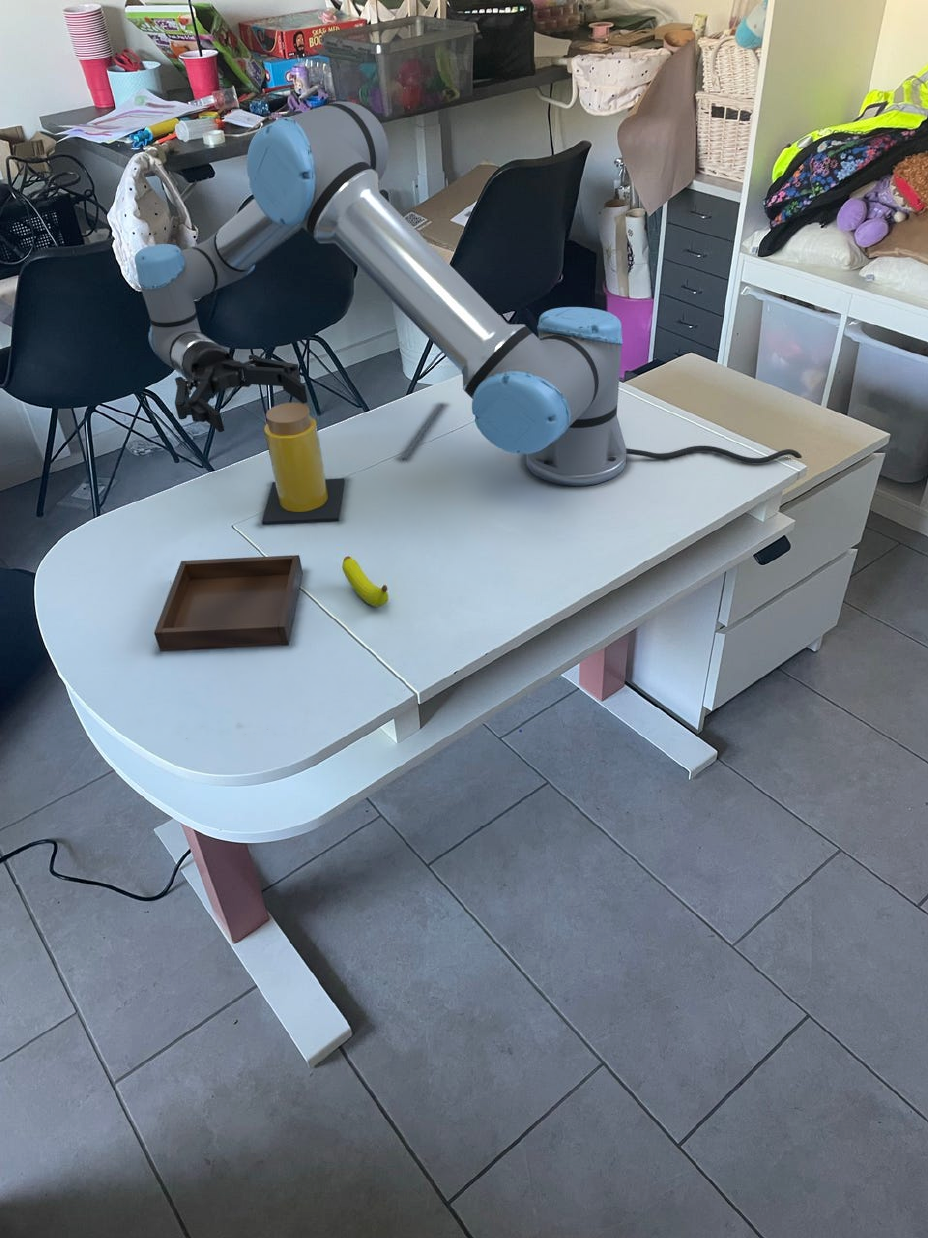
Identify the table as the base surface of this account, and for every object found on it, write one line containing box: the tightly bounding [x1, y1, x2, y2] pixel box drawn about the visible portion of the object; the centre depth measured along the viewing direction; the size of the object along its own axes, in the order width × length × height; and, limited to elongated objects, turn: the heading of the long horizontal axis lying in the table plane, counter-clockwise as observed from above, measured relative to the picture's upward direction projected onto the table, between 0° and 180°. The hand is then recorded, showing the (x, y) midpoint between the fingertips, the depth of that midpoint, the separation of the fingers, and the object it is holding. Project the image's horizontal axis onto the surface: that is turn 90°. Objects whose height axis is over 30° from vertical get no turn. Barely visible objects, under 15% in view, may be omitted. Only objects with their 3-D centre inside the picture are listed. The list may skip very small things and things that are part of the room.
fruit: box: [341, 556, 389, 608], centre depth 114 cm, size 10×2×5 cm, turn 36°
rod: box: [401, 403, 445, 461], centre depth 150 cm, size 1×19×1 cm, turn 163°
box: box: [153, 554, 304, 652], centre depth 114 cm, size 16×15×3 cm
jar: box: [263, 402, 328, 512], centre depth 130 cm, size 7×7×14 cm
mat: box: [261, 477, 346, 526], centre depth 134 cm, size 11×11×1 cm
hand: (263, 408), depth 132 cm, fingers open, 13 cm apart
